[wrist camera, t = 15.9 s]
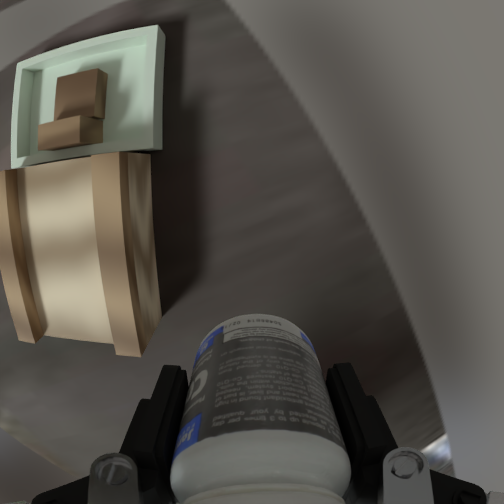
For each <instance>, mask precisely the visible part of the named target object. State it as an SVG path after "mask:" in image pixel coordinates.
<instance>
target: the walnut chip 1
mask: <svg viewBox="0 0 504 504" xmlns="http://www.w3.org/2000/svg"><path fill="white" fill-rule="evenodd" d="M107 79H108V74H107V73H105V72H104V71H102V70H100V69H99V68H96V69H91V70H86V71H82V72H77V73H73V74H69V75H65V76H61V77H57V84H56V94H55V106H54V121H56V120H61V119H65V118H69V117H74V116H79V115H81V116H85V117H89V118H93V119H97V120H101V119H105V107H106V91H107Z"/></svg>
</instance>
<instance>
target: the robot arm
mask: <svg viewBox="0 0 504 504" xmlns="http://www.w3.org/2000/svg"><path fill="white" fill-rule="evenodd" d="M326 386H327V389H328V392H329V396H330V399H331V402H332V406H333V408H334V412H335V415H336V418H337V421H338V425H339V428H340V431H341V433H342V437H343V440H344V443H345V447H346V449H347V452H348V456H349V460H350V465H351V479H350V483H349V486H348V488H347V490H346V492H345V493H344V495H343V496H342V497H341V498H342V499H344V501H345V504H504V493H501V492H493V491H490V492H489V493H488V494H485V492H484V490H483V489H482V488H481V487H479V486H477V485H475V484H472V483H469V482H466V481H463V480H459V479H457V478H454V477H451V476H448V475H445V474H442V473H439V472H436V471H433V470H430V469H429V464H428V461H427V458H426V457H425V456H424V454H423V453H421V452H420V451H418V450H416V449H413V448H407V447H402V448H398V446H397V444H396V442H395V440H394V437H393V435H392V433H391V431H390V429H389V427H388V425H387V422H386V420H385V418H384V416H383V414H382V412H381V410H380V408H379V406H378V404H377V401H376V399H375V398H374V397H373V396H372V395H371V396H366V395H365V393H364V391H363V389H362V387H361V384H360V382H359V380H358V378H357V376H356V374H355V372H354V369H353V367H352V365H351V363H340V364H334V366H333V368H329V369H328V372H327V379H326ZM188 389H189V386H188V380H187V373H186V370H181V367H180V366H175V365H164V366H163V368H162V370H161V373H160V376H159V378H158V381H157V383H156V386H155V389H154V391H153V394H152V397H151V399H141V400H140V402H139V404H138V406H137V409H136V411H135V414H134V416H133V419H132V421H131V424H130V426H129V429H128V431H127V434H126V436H125V439H124V441H123V444H122V446H121V449H120V452H119V453H107V454H104V455H102V456H100V457H98V458H97V459H96V460H95V461H94V462H93V463H92V465H91V468H90V475H89V476H87V477H84V478H82V479H79V480H77V481H74V482H71V483H69V484H66V485H63V486H60V487H58V488H55V489H52V490H49V491H46V492H44V493H41V494H39V495H37V496H36V497H35V498H34V499H33V500H32V502H31V503H27V502H26V501H20V502H13V503H6V504H180V502H179V501H178V500H177V498H176V497H175V495H174V493H173V490H172V488H171V484H170V471H171V464H172V458H173V454H174V450H175V445H176V440H177V437H178V433H179V428H180V423H181V420H182V414H183V411H184V407H185V402H186V397H187V393H188Z"/></svg>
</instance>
